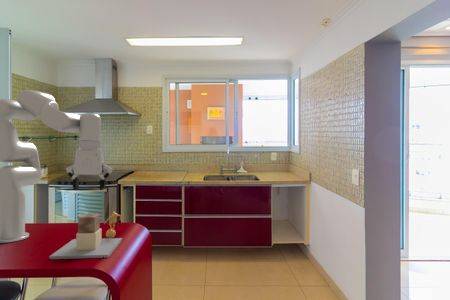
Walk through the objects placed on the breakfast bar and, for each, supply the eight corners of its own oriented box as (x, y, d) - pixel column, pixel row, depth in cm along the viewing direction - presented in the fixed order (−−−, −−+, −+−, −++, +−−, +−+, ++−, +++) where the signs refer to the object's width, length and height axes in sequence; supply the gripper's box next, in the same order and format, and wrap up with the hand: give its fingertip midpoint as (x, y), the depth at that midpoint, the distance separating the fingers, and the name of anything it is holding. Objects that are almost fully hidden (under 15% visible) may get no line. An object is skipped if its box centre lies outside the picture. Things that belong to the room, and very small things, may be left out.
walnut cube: (78, 233, 111) (78, 217, 111) (84, 229, 117) (84, 214, 117) (94, 232, 111) (94, 217, 111) (99, 228, 117) (99, 213, 117)
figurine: (115, 235, 132) (116, 208, 133) (124, 237, 129) (124, 210, 129) (99, 239, 125) (99, 211, 126) (108, 242, 122) (108, 213, 122)
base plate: (49, 259, 103) (49, 239, 103) (73, 241, 123) (73, 224, 123) (108, 257, 105) (108, 238, 105) (122, 240, 125) (122, 224, 125)
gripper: (62, 145, 109) (61, 190, 109) (110, 146, 111) (109, 191, 111) (70, 145, 117) (70, 188, 117) (115, 146, 119) (114, 188, 119)
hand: (89, 189), depth 114 cm, fingers open, 9 cm apart
